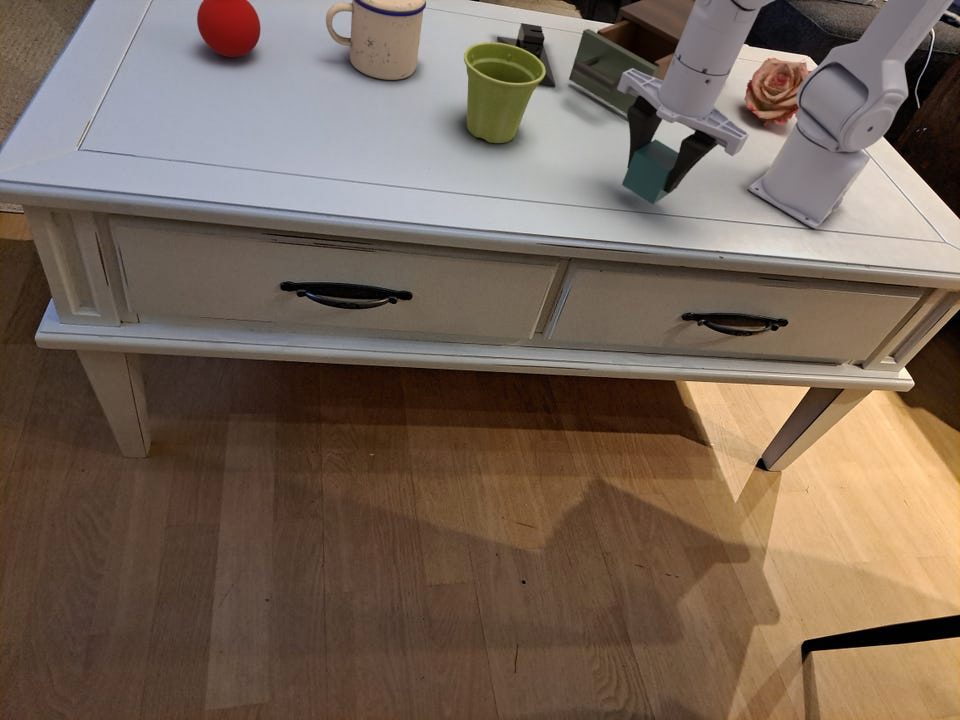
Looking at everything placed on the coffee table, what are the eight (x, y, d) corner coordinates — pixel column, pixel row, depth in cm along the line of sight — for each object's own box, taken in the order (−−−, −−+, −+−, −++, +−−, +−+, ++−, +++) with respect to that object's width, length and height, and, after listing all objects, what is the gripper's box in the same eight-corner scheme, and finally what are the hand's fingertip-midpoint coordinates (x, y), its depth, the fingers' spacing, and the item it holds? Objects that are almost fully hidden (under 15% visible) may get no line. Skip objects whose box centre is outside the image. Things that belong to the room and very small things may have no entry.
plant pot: (472, 156, 80) (486, 86, 73) (440, 111, 85) (451, 42, 78) (540, 148, 84) (560, 81, 77) (506, 106, 89) (522, 40, 82)
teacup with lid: (409, 48, 94) (419, -44, 85) (425, 83, 89) (437, -11, 80) (320, 44, 90) (321, -53, 81) (330, 80, 85) (333, -19, 76)
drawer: (616, 129, 88) (635, 79, 83) (548, 88, 92) (562, 37, 87) (684, 92, 99) (704, 46, 94) (620, 56, 103) (637, 10, 98)
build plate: (555, 89, 95) (564, 56, 91) (503, 82, 93) (511, 48, 90) (542, 45, 102) (550, 13, 99) (494, 38, 101) (501, 5, 97)
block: (672, 191, 79) (688, 158, 76) (653, 205, 76) (668, 171, 73) (641, 172, 80) (655, 139, 77) (621, 184, 78) (635, 151, 75)
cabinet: (670, 108, 97) (696, 48, 91) (600, 67, 101) (619, 7, 95) (717, 82, 105) (744, 26, 99) (650, 45, 110) (671, -11, 103)
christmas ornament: (210, 70, 81) (200, -19, 74) (193, 41, 85) (182, -47, 77) (269, 66, 84) (266, -20, 77) (251, 38, 88) (246, -47, 80)
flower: (758, 81, 104) (762, 43, 97) (820, 95, 101) (829, 58, 93) (731, 134, 103) (732, 100, 96) (792, 150, 100) (799, 117, 92)
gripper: (621, 37, 67) (580, 156, 77) (749, 107, 63) (688, 224, 73) (657, 22, 71) (614, 137, 82) (780, 87, 67) (718, 201, 77)
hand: (651, 177), depth 77 cm, fingers closed on block, 4 cm apart
